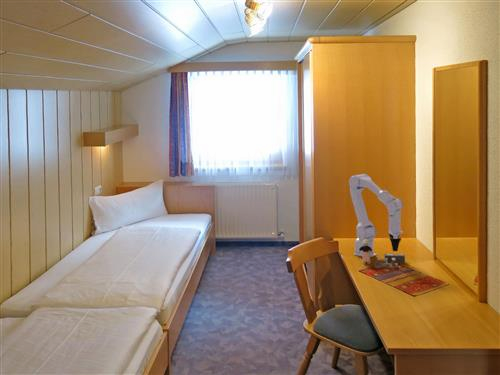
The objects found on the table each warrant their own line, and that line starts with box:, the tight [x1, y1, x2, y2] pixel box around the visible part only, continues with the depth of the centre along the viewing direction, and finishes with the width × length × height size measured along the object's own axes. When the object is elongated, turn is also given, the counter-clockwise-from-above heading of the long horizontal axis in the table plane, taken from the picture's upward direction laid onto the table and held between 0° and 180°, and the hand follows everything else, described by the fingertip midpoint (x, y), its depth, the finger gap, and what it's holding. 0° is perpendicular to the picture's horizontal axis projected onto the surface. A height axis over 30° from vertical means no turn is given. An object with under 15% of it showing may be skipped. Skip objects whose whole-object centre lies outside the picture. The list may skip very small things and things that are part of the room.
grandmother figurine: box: [358, 239, 374, 265], centre depth 273 cm, size 8×4×13 cm, turn 84°
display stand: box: [374, 257, 399, 269], centre depth 266 cm, size 11×6×4 cm, turn 78°
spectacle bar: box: [383, 253, 406, 264], centre depth 273 cm, size 10×3×4 cm, turn 78°
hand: (394, 249), depth 272 cm, fingers open, 7 cm apart
